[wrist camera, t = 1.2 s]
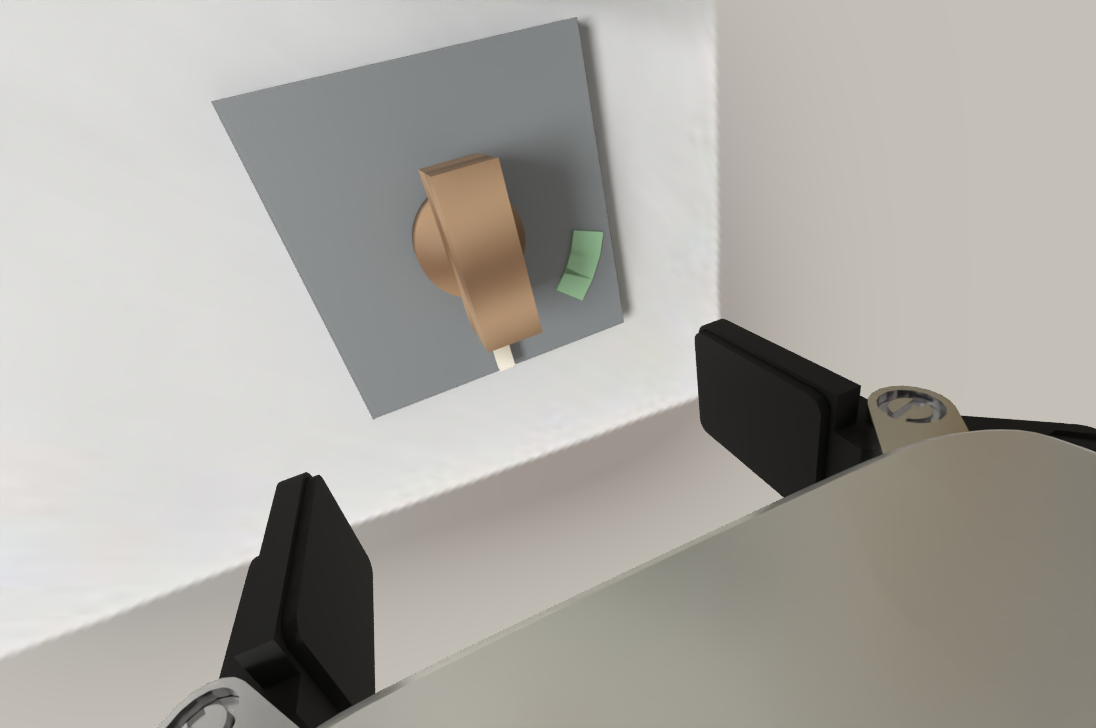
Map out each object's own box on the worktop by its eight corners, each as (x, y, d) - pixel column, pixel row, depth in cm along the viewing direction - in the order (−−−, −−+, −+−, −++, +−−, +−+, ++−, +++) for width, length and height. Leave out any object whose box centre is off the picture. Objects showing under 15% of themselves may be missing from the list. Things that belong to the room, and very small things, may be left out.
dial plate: (217, 102, 26) (210, 101, 25) (567, 21, 30) (578, 16, 29) (372, 409, 37) (373, 420, 35) (615, 316, 41) (624, 323, 39)
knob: (385, 175, 29) (395, 187, 23) (494, 144, 30) (530, 148, 24) (462, 380, 36) (484, 429, 30) (546, 348, 38) (583, 389, 32)
